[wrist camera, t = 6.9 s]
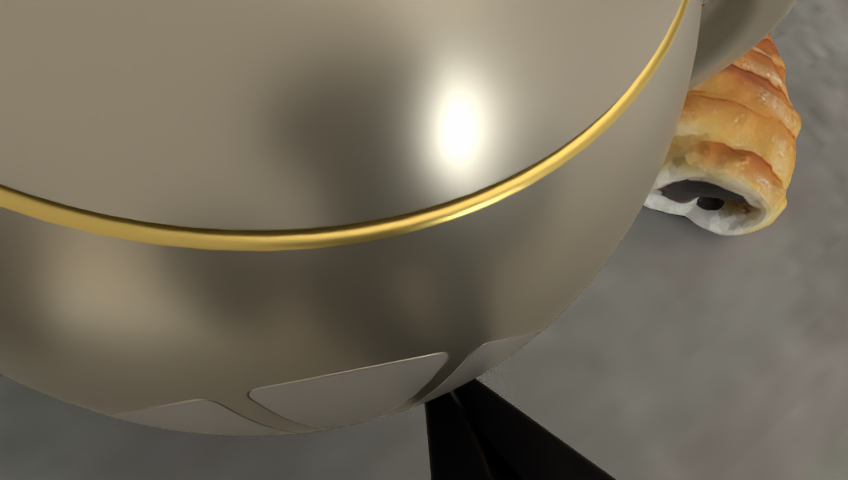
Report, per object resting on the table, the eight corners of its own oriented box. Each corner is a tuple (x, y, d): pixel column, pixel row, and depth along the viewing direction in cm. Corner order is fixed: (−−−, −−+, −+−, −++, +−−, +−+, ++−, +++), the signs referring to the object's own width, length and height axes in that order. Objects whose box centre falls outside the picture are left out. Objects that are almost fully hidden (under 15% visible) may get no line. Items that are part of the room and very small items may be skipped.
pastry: (635, 3, 22) (700, -68, 18) (767, 63, 22) (855, 6, 19) (591, 195, 19) (656, 156, 15) (742, 254, 20) (838, 231, 16)
